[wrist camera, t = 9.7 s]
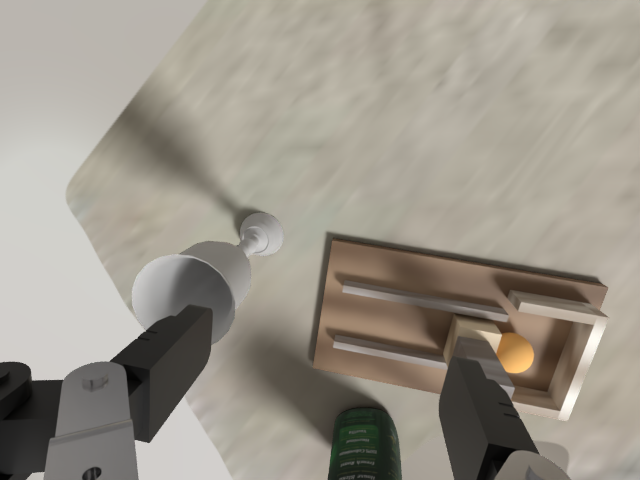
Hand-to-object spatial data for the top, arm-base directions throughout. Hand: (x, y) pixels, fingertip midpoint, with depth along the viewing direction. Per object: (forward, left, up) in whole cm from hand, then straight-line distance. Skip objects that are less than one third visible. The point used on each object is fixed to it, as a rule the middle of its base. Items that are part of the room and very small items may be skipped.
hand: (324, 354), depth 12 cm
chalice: (+5, -10, -28) cm, 30 cm away
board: (+12, +12, -28) cm, 33 cm away
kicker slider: (+12, +14, -27) cm, 32 cm away
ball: (+12, +18, -25) cm, 33 cm away
